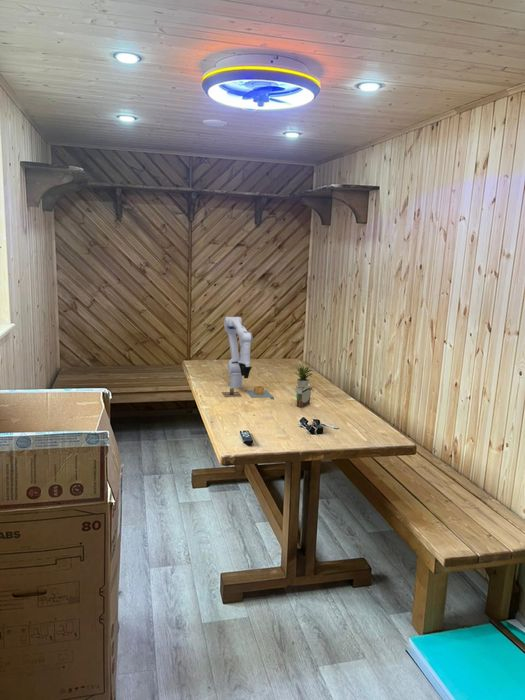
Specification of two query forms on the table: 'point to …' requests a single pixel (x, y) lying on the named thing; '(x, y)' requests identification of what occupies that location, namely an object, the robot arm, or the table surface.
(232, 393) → the stand
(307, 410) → the table surface
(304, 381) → the house plant
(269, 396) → the board
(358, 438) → the table surface
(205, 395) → the table surface
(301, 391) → the food container
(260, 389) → the collar
